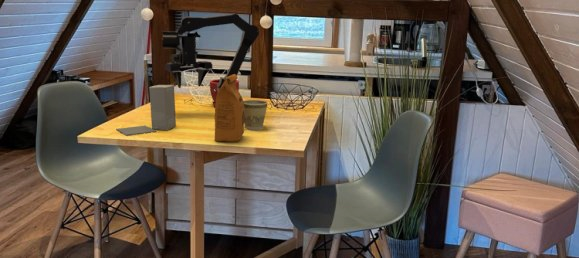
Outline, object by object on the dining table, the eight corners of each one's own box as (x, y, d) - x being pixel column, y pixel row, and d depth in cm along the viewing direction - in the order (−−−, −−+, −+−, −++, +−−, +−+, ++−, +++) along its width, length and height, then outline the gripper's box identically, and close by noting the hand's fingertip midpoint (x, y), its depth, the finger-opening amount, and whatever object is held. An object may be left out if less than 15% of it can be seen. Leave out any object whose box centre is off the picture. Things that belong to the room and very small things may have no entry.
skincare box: (167, 131, 188) (166, 87, 185) (149, 129, 190) (147, 86, 186) (177, 126, 196) (176, 84, 193) (159, 124, 198) (158, 83, 194)
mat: (145, 126, 194) (145, 125, 194) (156, 132, 186) (156, 130, 186) (116, 129, 187) (116, 128, 187) (126, 135, 180) (126, 134, 179)
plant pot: (231, 102, 246) (231, 77, 243) (243, 108, 235) (243, 81, 232) (205, 104, 239) (205, 78, 236) (216, 110, 228) (216, 83, 225)
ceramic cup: (256, 132, 190) (257, 105, 188) (235, 128, 195) (235, 102, 193) (276, 126, 201) (276, 100, 199) (255, 122, 206) (255, 97, 204)
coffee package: (248, 135, 185) (249, 74, 180) (238, 144, 173) (239, 78, 168) (221, 133, 187) (221, 72, 182) (210, 142, 175) (210, 77, 170)
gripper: (199, 46, 220) (200, 83, 224) (158, 47, 209) (159, 86, 212) (213, 48, 212) (213, 86, 215) (170, 50, 200) (171, 90, 204)
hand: (189, 87), depth 212 cm, fingers open, 9 cm apart
